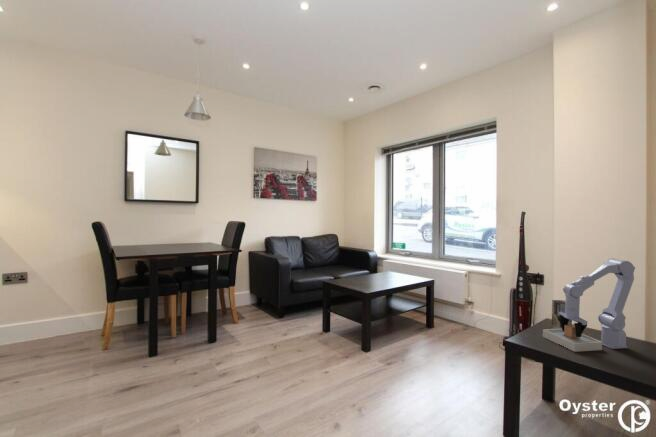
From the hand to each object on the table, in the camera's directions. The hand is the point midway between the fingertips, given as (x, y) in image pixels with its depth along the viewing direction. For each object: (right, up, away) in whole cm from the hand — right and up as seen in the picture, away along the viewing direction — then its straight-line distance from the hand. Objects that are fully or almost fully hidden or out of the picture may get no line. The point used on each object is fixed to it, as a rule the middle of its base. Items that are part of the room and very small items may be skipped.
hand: (571, 334), depth 160 cm
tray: (0, -5, 0) cm, 5 cm away
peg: (0, -4, 0) cm, 4 cm away
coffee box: (+9, -5, +19) cm, 21 cm away
